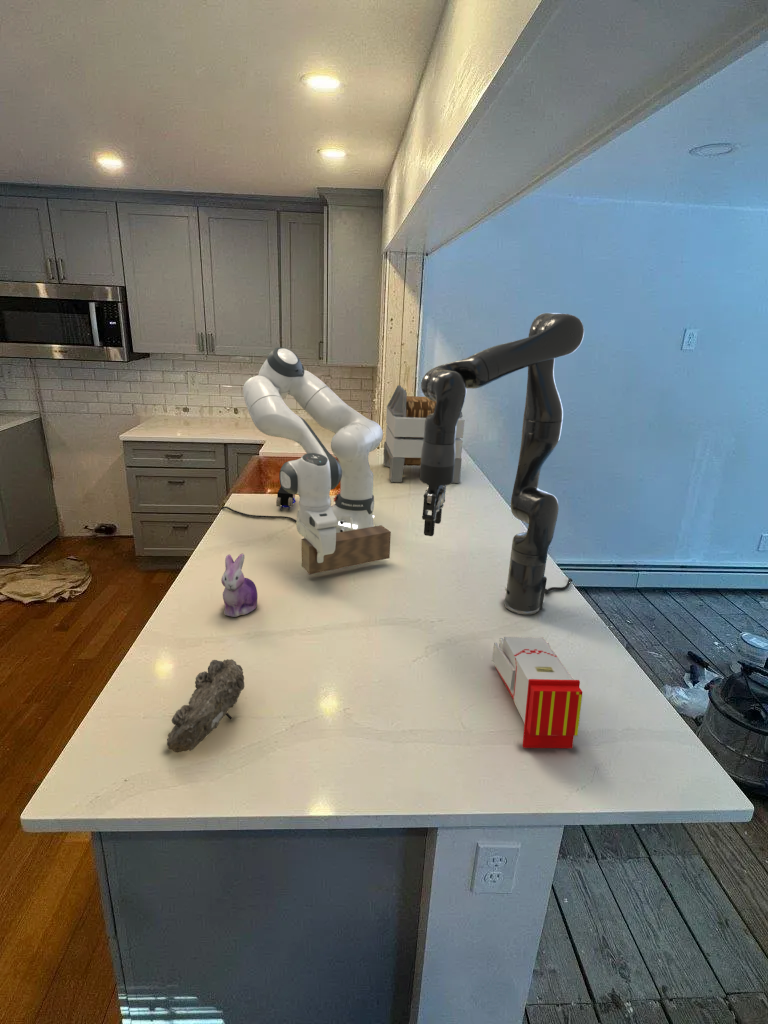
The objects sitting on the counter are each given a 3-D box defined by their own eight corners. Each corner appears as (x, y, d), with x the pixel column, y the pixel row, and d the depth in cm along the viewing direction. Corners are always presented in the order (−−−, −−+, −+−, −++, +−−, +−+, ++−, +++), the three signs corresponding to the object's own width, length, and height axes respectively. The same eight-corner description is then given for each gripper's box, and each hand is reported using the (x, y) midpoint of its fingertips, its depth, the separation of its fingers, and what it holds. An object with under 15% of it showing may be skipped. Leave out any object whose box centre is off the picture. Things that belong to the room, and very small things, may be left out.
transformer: (382, 463, 289) (386, 382, 275) (445, 464, 293) (451, 384, 279) (390, 482, 257) (394, 392, 243) (460, 483, 261) (468, 394, 247)
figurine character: (293, 515, 216) (298, 499, 229) (292, 497, 212) (297, 481, 226) (275, 515, 216) (281, 498, 229) (274, 497, 212) (280, 481, 226)
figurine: (226, 621, 140) (223, 566, 135) (217, 603, 148) (214, 550, 143) (264, 614, 144) (262, 560, 139) (253, 596, 153) (251, 545, 148)
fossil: (192, 660, 117) (244, 628, 112) (224, 691, 120) (276, 661, 115) (142, 746, 98) (202, 712, 93) (182, 779, 101) (242, 748, 96)
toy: (540, 620, 128) (592, 687, 99) (535, 674, 131) (584, 755, 102) (487, 619, 128) (523, 686, 99) (483, 673, 131) (517, 754, 101)
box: (309, 574, 161) (309, 546, 158) (301, 566, 166) (301, 538, 163) (389, 558, 174) (390, 531, 171) (380, 550, 178) (381, 525, 175)
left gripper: (290, 502, 166) (291, 545, 170) (318, 525, 149) (318, 573, 154) (311, 499, 169) (310, 542, 173) (340, 522, 152) (339, 569, 157)
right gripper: (448, 471, 119) (442, 542, 124) (459, 455, 132) (453, 521, 137) (414, 467, 121) (409, 537, 126) (427, 452, 134) (423, 516, 139)
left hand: (314, 557), depth 164 cm, fingers closed on box, 6 cm apart
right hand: (432, 528), depth 132 cm, fingers open, 8 cm apart
